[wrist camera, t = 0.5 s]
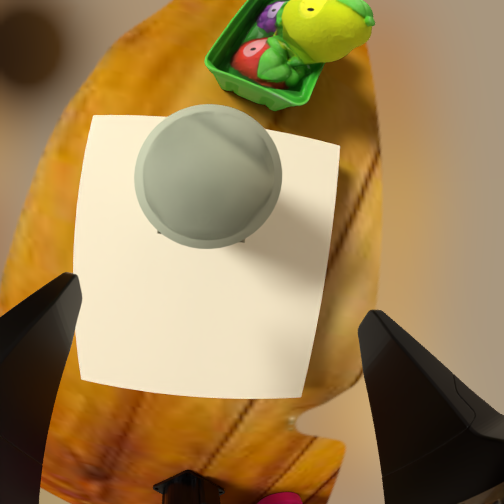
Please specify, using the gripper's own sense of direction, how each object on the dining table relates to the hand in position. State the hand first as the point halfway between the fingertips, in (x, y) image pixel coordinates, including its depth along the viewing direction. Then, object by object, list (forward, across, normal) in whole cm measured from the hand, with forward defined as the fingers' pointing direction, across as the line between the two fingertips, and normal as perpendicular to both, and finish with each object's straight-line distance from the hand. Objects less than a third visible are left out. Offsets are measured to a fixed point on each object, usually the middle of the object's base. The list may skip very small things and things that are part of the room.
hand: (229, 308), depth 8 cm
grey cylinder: (+14, +1, +3) cm, 14 cm away
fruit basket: (+21, -2, -8) cm, 23 cm away
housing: (+12, +1, +8) cm, 15 cm away
